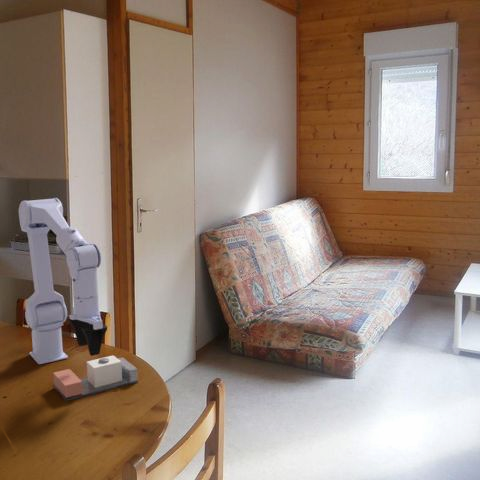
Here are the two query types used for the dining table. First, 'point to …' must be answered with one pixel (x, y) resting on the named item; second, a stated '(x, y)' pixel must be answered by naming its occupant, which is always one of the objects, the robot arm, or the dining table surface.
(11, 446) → the dining table surface
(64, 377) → the block
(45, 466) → the dining table surface
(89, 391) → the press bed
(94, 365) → the block
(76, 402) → the dining table surface
